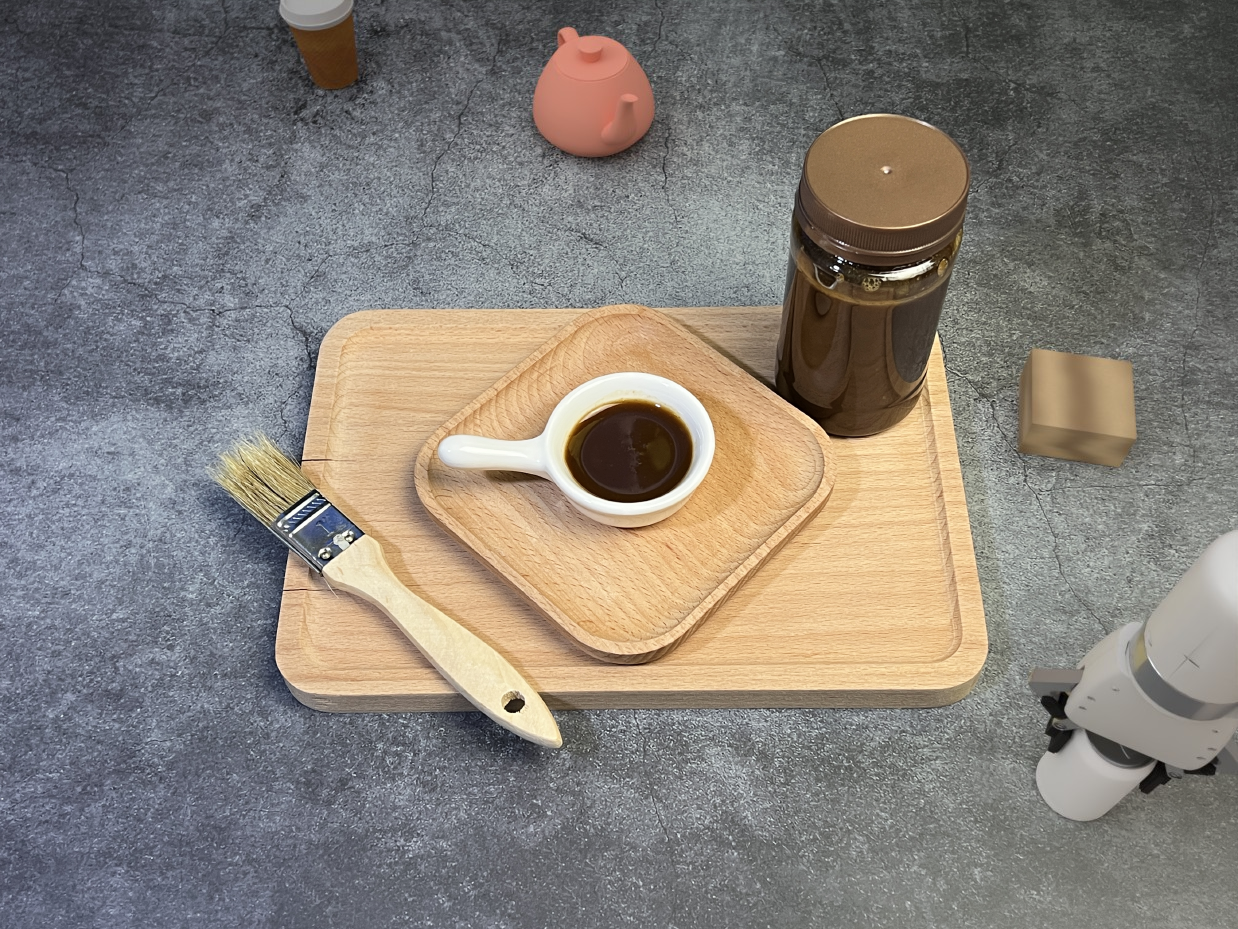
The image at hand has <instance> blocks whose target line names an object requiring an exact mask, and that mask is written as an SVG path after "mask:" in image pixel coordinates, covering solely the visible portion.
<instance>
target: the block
mask: <svg viewBox="0 0 1238 929" xmlns="http://www.w3.org/2000/svg"><path fill="white" fill-rule="evenodd" d="M1134 386H1135V385H1134V372H1133V362H1132V361H1127V360H1120V359H1114V358H1113V359H1112V358H1106V357H1099V356H1092V355H1084V354H1078V353H1070V352H1063V351H1058V350H1050V349H1043V348H1034V347H1032V348H1031V350H1030V352H1029V354H1028V357H1027V359H1026V361H1025V363H1024V366H1023V368H1022V370H1021V373H1020V375H1019V377H1018V433H1017V434H1018V435H1017V436H1018V439H1017V446H1018V448H1017V450H1018V451H1017V452H1018V453H1022V454H1029V455H1034V456H1035V455H1036V456H1041V457H1049V458H1055V459H1062V460H1067V461H1073V462H1080V463H1087V464H1094V465H1100V466H1106V467H1113V468H1120V467H1121V465H1122V463H1123V462H1124V461H1125V459H1126V457H1127V456H1128V454H1129V452H1130V451H1131V449H1132V448H1133V446H1134V445H1135V443H1136V441H1137V440H1138V434H1137V420H1136V404H1135V388H1134Z"/></svg>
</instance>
